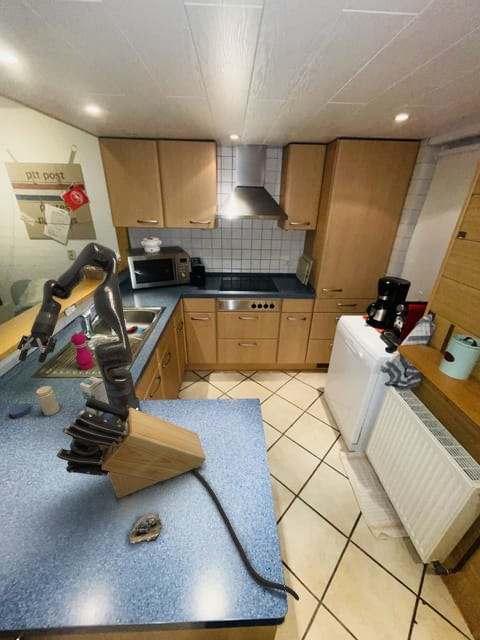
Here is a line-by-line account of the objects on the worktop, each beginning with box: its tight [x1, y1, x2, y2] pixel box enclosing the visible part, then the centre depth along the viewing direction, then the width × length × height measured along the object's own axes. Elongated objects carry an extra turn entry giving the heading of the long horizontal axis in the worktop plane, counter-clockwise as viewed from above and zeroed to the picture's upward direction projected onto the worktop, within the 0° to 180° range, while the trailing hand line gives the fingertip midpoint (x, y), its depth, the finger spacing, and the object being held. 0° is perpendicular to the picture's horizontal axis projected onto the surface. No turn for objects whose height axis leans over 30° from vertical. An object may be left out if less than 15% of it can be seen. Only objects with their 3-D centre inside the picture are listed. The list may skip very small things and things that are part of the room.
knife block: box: [56, 398, 207, 499], centre depth 71 cm, size 11×35×31 cm, turn 113°
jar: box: [35, 385, 61, 416], centre depth 97 cm, size 5×5×11 cm
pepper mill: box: [70, 330, 95, 370], centre depth 122 cm, size 7×7×20 cm
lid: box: [9, 403, 30, 419], centre depth 98 cm, size 6×6×2 cm
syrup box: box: [79, 375, 109, 417], centre depth 97 cm, size 6×6×14 cm
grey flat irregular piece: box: [128, 512, 163, 545], centre depth 63 cm, size 7×8×2 cm
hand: (30, 361), depth 102 cm, fingers open, 8 cm apart
